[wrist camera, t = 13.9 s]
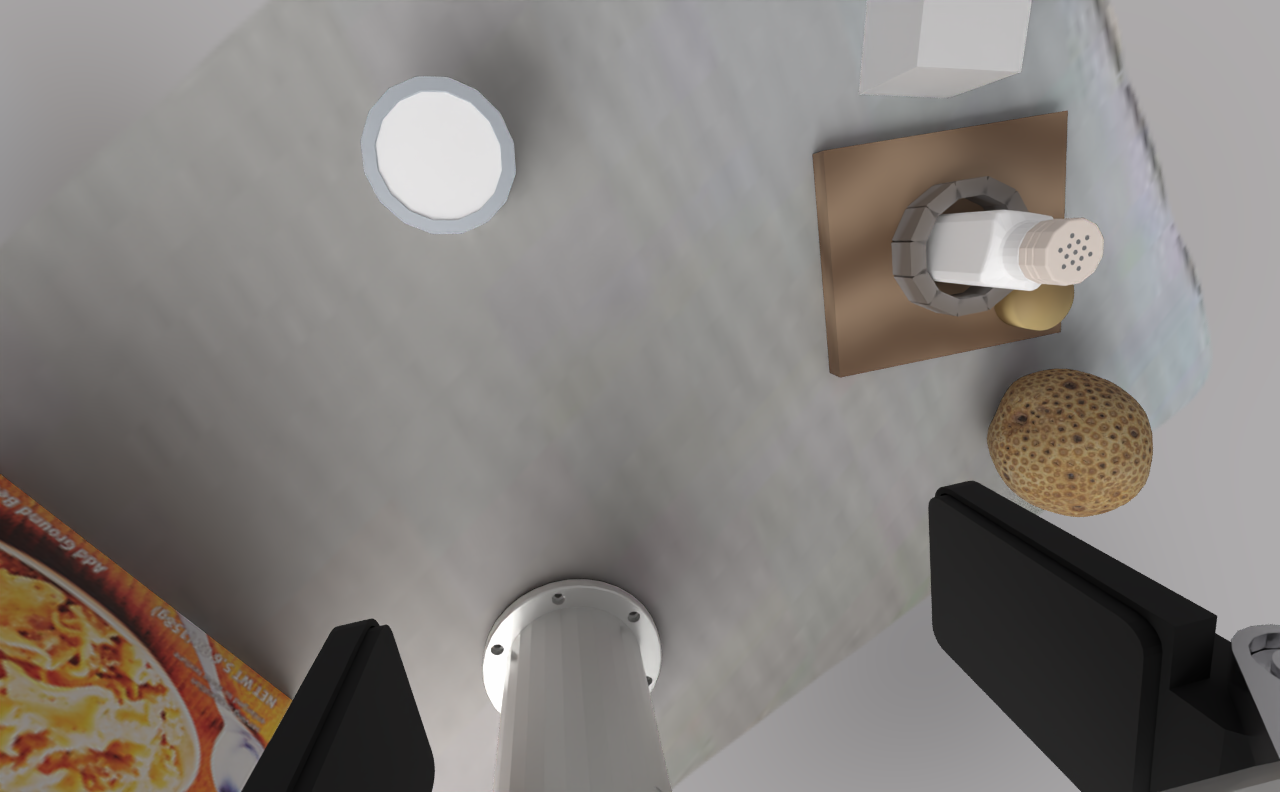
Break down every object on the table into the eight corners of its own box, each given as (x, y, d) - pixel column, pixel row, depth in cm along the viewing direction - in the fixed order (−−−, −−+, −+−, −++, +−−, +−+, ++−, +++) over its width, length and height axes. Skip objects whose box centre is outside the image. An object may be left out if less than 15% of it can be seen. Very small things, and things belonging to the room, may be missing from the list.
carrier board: (1043, 328, 42) (1086, 336, 38) (829, 372, 40) (855, 384, 37) (1047, 115, 38) (1096, 103, 34) (812, 154, 36) (839, 145, 33)
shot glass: (504, 97, 33) (493, 60, 26) (535, 223, 35) (532, 218, 28) (380, 121, 32) (337, 90, 26) (419, 247, 34) (388, 249, 27)
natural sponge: (932, 389, 42) (1047, 433, 32) (1043, 335, 42) (1191, 362, 32) (965, 494, 44) (1080, 564, 35) (1069, 442, 44) (1212, 497, 35)
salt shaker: (912, 278, 38) (1028, 289, 28) (925, 213, 37) (1050, 203, 28) (967, 285, 38) (1098, 297, 29) (982, 221, 37) (1122, 214, 28)
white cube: (867, -18, 34) (931, -71, 29) (960, -11, 35) (1041, -62, 29) (857, 95, 36) (917, 66, 30) (947, 99, 37) (1022, 71, 31)
